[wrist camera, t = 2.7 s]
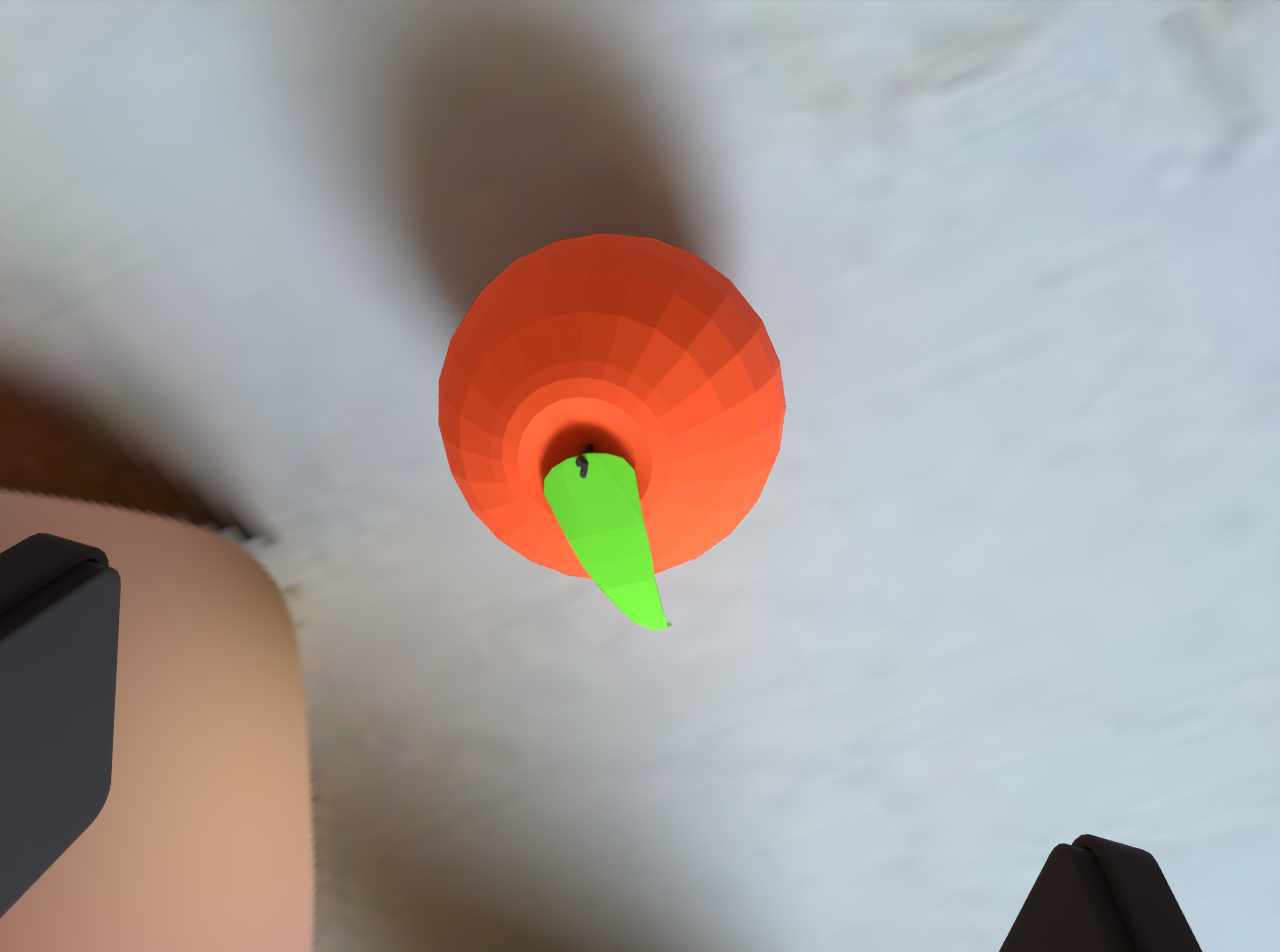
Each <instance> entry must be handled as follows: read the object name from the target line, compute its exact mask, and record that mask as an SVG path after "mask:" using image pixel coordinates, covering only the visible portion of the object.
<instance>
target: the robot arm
mask: <svg viewBox="0 0 1280 952" xmlns="http://www.w3.org/2000/svg"><path fill="white" fill-rule="evenodd" d="M120 589H121V583H120V576H119V574H118V571H116V570H115V569H114V568H111V567H109V564H108V559H107V557H106V555H105V553H104V552H103V551H102V550H100V549H99V548H96V547H92V546H88V545H85V544H82V543H78V542H75V541H72V540H68V539H64V538H61V537H58V536H54V535H51V534H46V533H38V534H36V535H33V536H30V537H28V538H27V539H25V540H23V541H21V542H19V543H18V544H16V545H14V546H12V547H11V548H9V549H7V550H5V551H4V552H2V553H0V918H1V917H2V916H3V915H4V914H5V913H6V912H7V911H8V910H9V909H10V908H11V906H12V905H14V904H15V902H16V901H17V900H18V899H19V898H20V897H21V896H22V895H23V894H24V893H25V892H26V891H27V890H28V889H29V888H30V887H31V886H32V885H33V884H34V883H35V882H36V881H37V880H38V879H39V878H40V876H41V875H42V874H43V873H44V872H45V871H46V870H47V869H48V868H49V867H50V866H51V865H52V864H53V863H54V862H55V861H56V860H57V859H58V858H59V857H60V856H61V855H62V854H63V853H64V852H65V850H66V849H67V848H68V847H69V846H70V845H71V844H72V843H73V842H74V841H75V840H76V839H77V838H78V837H79V836H80V835H81V834H82V833H83V832H84V831H85V830H86V829H87V828H88V827H89V826H90V824H91V823H92V822H93V821H94V820H95V818H96V817H97V816H98V814H99V813H100V811H101V809H102V808H103V806H104V804H105V801H106V799H107V796H108V793H109V790H110V785H111V771H112V750H113V730H114V710H115V690H116V670H117V649H118V629H119V608H120ZM999 952H1202V950H1201V948H1200V946H1199V944H1198V942H1197V940H1196V938H1195V936H1194V934H1193V932H1192V930H1191V928H1190V926H1189V924H1188V922H1187V920H1186V918H1185V916H1184V914H1183V912H1182V910H1181V909H1180V907H1179V905H1178V903H1177V901H1176V899H1175V897H1174V895H1173V893H1172V891H1171V889H1170V887H1169V885H1168V883H1167V881H1166V879H1165V877H1164V875H1163V873H1162V871H1161V869H1160V867H1159V865H1158V863H1157V862H1156V860H1155V859H1154V857H1153V856H1152V855H1151V854H1150V853H1148V852H1146V851H1145V850H1142V849H1138V848H1135V847H1131V846H1128V845H1124V844H1121V843H1118V842H1114V841H1111V840H1107V839H1104V838H1100V837H1097V836H1093V835H1090V834H1085V835H1081V836H1080V837H1078V838H1077V839H1075V840H1074V842H1073V843H1072V845H1068V844H1065V843H1064V844H1059V845H1057V846H1056V847H1055V848H1054V849H1053V850H1052V852H1051V853H1050V855H1049V857H1048V859H1047V861H1046V863H1045V865H1044V867H1043V868H1042V870H1041V872H1040V874H1039V876H1038V878H1037V880H1036V882H1035V884H1034V886H1033V888H1032V890H1031V891H1030V893H1029V895H1028V897H1027V899H1026V901H1025V903H1024V905H1023V907H1022V909H1021V911H1020V913H1019V914H1018V916H1017V918H1016V920H1015V922H1014V924H1013V926H1012V928H1011V930H1010V932H1009V934H1008V936H1007V937H1006V939H1005V941H1004V943H1003V945H1002V947H1001V949H1000V951H999Z"/></svg>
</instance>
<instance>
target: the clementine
mask: <svg viewBox="0 0 1280 952" xmlns="http://www.w3.org/2000/svg"><path fill="white" fill-rule="evenodd" d="M785 408H786V405H785V397H784V390H783V382H782V375H781V368H780V361H779V359H778V357H777V354H776V352H775V350H774V347H773V345H772V343H771V341H770V338H769V336H768V334H767V331H766V329H765V327H764V324H763V322H762V320H761V318H760V317H759V316H758V315H757V313H756V312H755V311H754V310H753V308H752V307H751V306H750V305H749V303H748V302H747V301H746V300H745V298H744V297H743V296H742V295H741V293H740V292H739V291H738V290H737V288H736V287H735V286H734V285H733V283H732V282H731V281H730V280H729V279H728V278H726V277H725V276H724V275H722V274H721V273H719V272H718V271H717V270H715V269H714V268H713V267H711V266H710V265H709V264H707V263H706V262H704V261H703V260H702V259H700V258H699V257H698V256H696V255H695V254H693V253H691V252H688V251H685V250H683V249H680V248H677V247H675V246H672V245H670V244H667V243H664V242H662V241H659V240H657V239H654V238H648V237H638V236H628V235H618V234H608V233H599V234H593V235H587V236H581V237H576V238H570V239H564V240H558V241H555V242H553V243H550V244H548V245H546V246H544V247H542V248H540V249H538V250H536V251H534V252H532V253H530V254H528V255H526V256H523V257H521V258H519V259H517V260H515V261H514V262H513V263H512V264H511V265H509V266H508V267H507V268H506V269H505V270H504V271H503V272H502V273H500V274H499V275H498V276H497V277H496V278H495V279H494V280H493V281H492V282H490V283H489V284H488V285H487V286H486V287H485V288H484V289H483V290H482V291H481V292H480V294H479V295H478V297H477V299H476V300H475V302H474V303H473V305H472V306H471V308H470V310H469V311H468V313H467V314H466V316H465V318H464V319H463V321H462V322H461V324H460V326H459V327H458V329H457V330H456V332H455V334H454V335H453V337H452V338H451V340H450V344H449V347H448V351H447V354H446V358H445V361H444V365H443V368H442V372H441V375H440V379H439V427H440V431H441V435H442V439H443V443H444V447H445V450H446V454H447V458H448V462H449V466H450V469H451V472H452V475H453V477H454V479H455V481H456V482H457V484H458V486H459V488H460V490H461V492H462V493H463V495H464V497H465V499H466V501H467V502H468V504H469V506H470V508H471V510H472V511H473V512H474V513H475V514H476V515H477V516H478V517H479V518H480V520H481V521H482V522H483V523H484V524H485V525H486V526H487V527H488V528H489V529H490V530H491V531H492V533H493V534H494V535H495V536H496V537H497V538H498V539H499V540H501V541H502V542H504V543H505V544H506V545H508V546H509V547H511V548H512V549H514V550H515V551H517V552H518V553H520V554H521V555H523V556H524V557H526V558H527V559H529V560H530V561H532V562H534V563H537V564H540V565H542V566H545V567H548V568H550V569H553V570H556V571H558V572H561V573H563V574H566V575H569V576H576V577H584V578H591V579H593V580H594V581H595V583H596V584H597V585H598V586H599V588H600V589H601V590H602V591H603V592H604V593H605V595H606V596H607V597H608V598H609V599H610V600H611V601H612V602H613V603H614V604H615V605H616V606H617V607H618V608H619V609H620V610H621V611H622V612H623V613H624V614H625V615H626V616H628V617H629V618H630V619H631V620H632V621H633V622H634V623H636V624H639V625H641V626H644V627H646V628H649V629H651V630H659V629H663V628H667V627H669V626H671V625H672V624H671V623H668V624H667V621H666V619H665V616H664V613H663V609H662V605H661V600H660V596H659V592H658V588H657V584H656V580H655V576H654V574H655V573H658V572H661V571H663V570H666V569H669V568H672V567H674V566H677V565H680V564H682V563H685V562H688V561H690V560H693V559H696V558H697V557H699V556H700V555H702V554H703V553H704V552H706V551H707V550H709V549H710V548H712V547H713V546H714V545H716V544H717V543H719V542H720V541H721V540H723V539H724V538H726V537H727V536H729V535H730V534H731V533H732V532H733V530H734V529H735V528H736V527H737V526H738V524H739V523H740V522H741V521H742V520H743V518H744V517H745V516H746V515H747V513H748V512H749V511H750V510H751V509H752V507H753V506H754V505H755V504H756V503H757V501H758V499H759V496H760V494H761V492H762V490H763V487H764V485H765V483H766V481H767V478H768V476H769V474H770V472H771V469H772V467H773V465H774V462H775V460H776V457H777V455H778V452H779V450H780V443H781V436H782V429H783V422H784V415H785Z"/></svg>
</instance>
